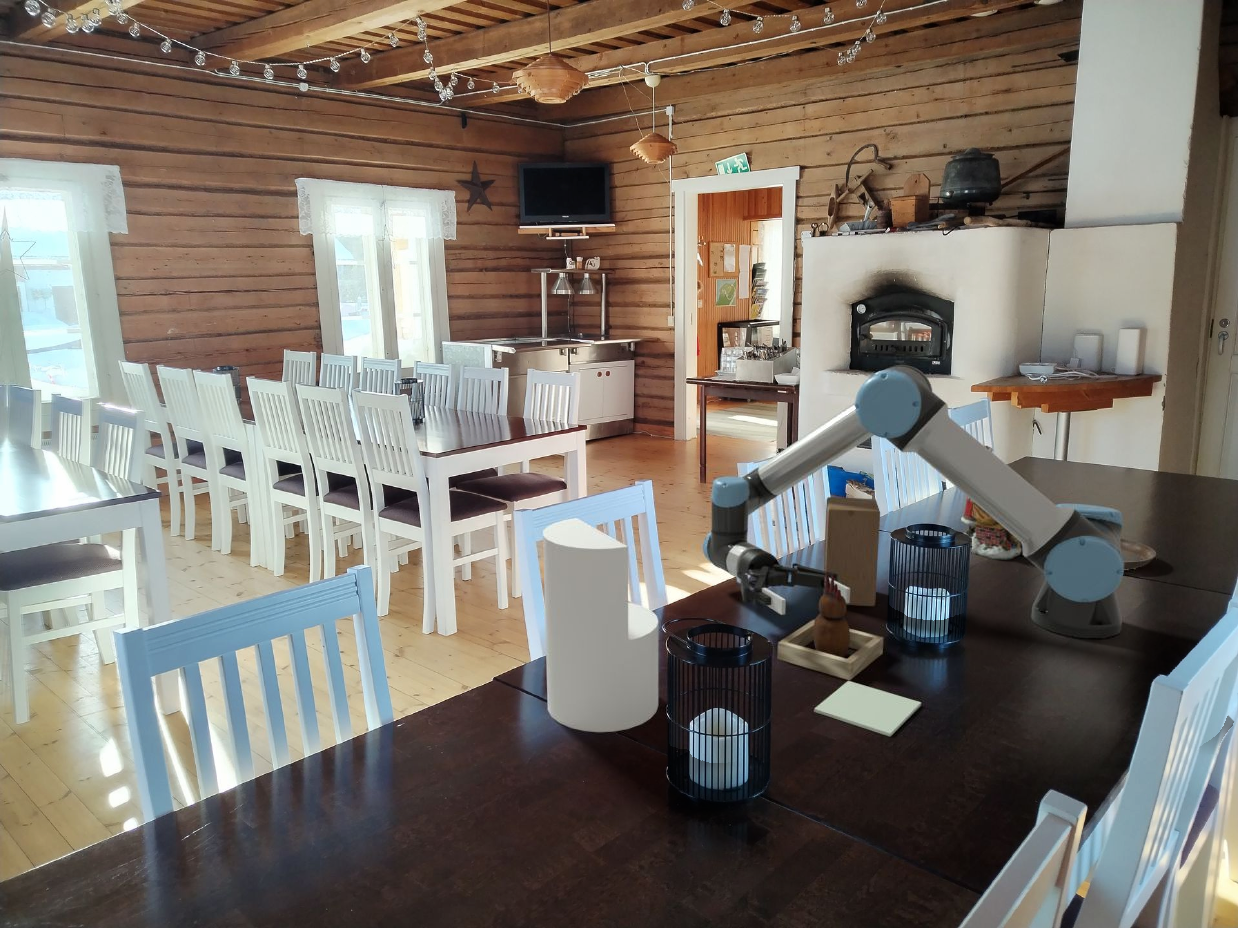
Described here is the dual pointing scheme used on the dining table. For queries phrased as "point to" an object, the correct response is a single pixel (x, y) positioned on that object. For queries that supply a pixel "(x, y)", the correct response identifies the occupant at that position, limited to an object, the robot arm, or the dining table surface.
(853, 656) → the pale wood square frame
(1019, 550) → the santa figurine
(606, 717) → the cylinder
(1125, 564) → the plant saucer
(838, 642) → the wooden figurine
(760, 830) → the dining table surface
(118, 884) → the dining table surface
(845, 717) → the sage mat
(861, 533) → the wooden block
